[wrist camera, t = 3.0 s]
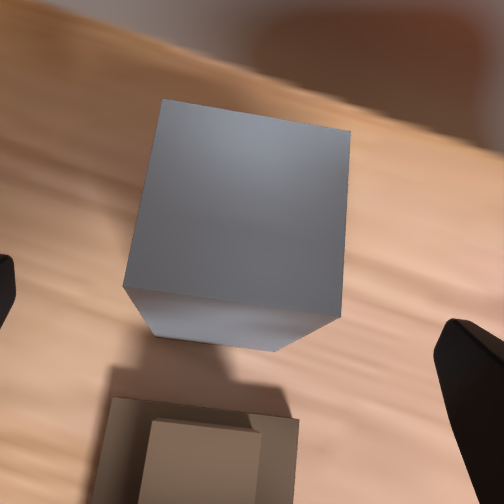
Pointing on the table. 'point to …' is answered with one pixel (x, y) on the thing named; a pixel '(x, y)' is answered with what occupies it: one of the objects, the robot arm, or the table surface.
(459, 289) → the table surface
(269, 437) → the walnut ridge
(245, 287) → the slate post
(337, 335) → the table surface
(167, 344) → the table surface
